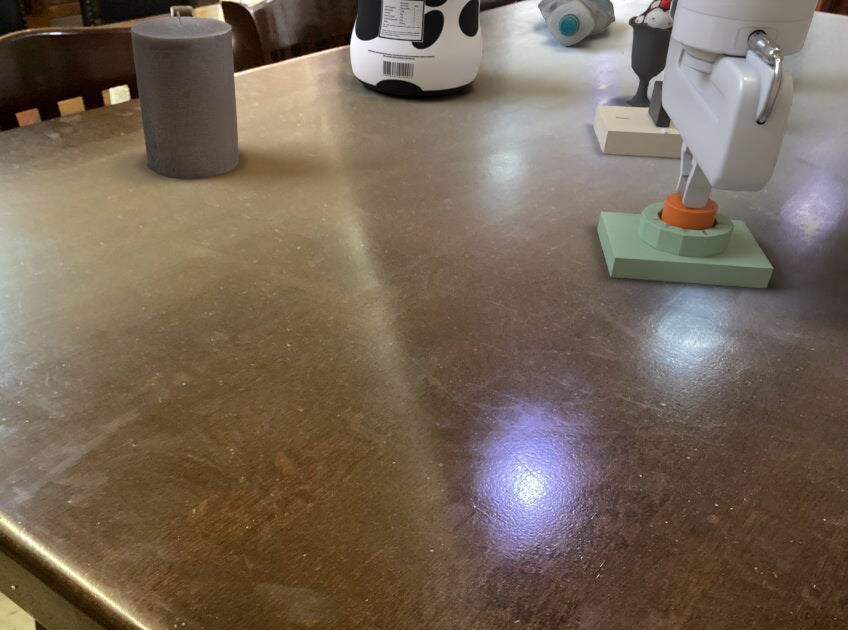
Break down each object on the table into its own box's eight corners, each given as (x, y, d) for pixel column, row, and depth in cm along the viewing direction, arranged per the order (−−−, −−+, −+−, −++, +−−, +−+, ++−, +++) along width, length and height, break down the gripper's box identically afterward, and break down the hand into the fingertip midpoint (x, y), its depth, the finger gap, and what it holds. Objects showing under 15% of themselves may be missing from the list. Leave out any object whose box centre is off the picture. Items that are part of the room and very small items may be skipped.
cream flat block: (697, 136, 95) (705, 108, 93) (716, 164, 87) (725, 135, 85) (592, 130, 96) (597, 103, 94) (602, 158, 89) (608, 129, 87)
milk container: (445, 66, 119) (457, -75, 108) (501, 99, 106) (520, -57, 95) (332, 75, 114) (333, -71, 104) (376, 111, 101) (382, -52, 91)
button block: (735, 243, 72) (749, 200, 69) (764, 293, 64) (781, 247, 62) (596, 234, 73) (605, 191, 71) (609, 282, 66) (619, 236, 63)
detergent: (540, 15, 147) (516, 43, 127) (550, -29, 143) (527, -7, 123) (614, 28, 144) (601, 59, 124) (626, -16, 140) (615, 8, 120)
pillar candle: (129, 175, 83) (106, 17, 74) (176, 144, 91) (161, -2, 82) (215, 188, 80) (201, 26, 72) (256, 156, 88) (248, 6, 79)
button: (705, 217, 68) (711, 194, 67) (716, 238, 65) (723, 214, 64) (655, 214, 69) (661, 191, 67) (664, 234, 65) (671, 210, 64)
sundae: (648, 118, 100) (680, -16, 91) (601, 105, 104) (627, -24, 95) (676, 108, 103) (709, -22, 95) (630, 96, 107) (657, -30, 99)
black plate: (647, 112, 92) (655, 78, 90) (660, 113, 92) (668, 78, 90) (655, 126, 88) (664, 91, 86) (669, 127, 88) (677, 91, 86)
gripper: (842, 56, 49) (767, 263, 57) (750, -8, 65) (702, 159, 73) (732, 50, 49) (674, 256, 58) (668, -12, 66) (630, 155, 74)
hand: (689, 201), depth 66 cm, fingers closed, pressing on button
